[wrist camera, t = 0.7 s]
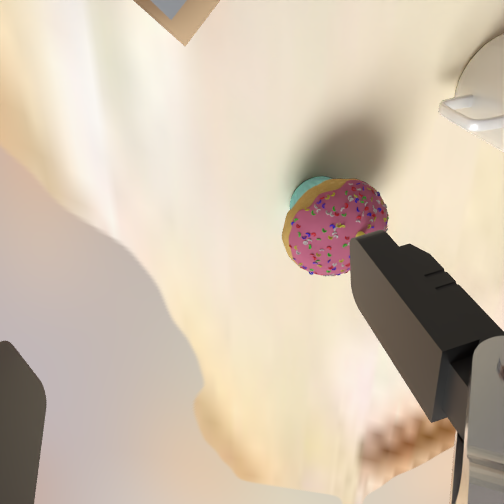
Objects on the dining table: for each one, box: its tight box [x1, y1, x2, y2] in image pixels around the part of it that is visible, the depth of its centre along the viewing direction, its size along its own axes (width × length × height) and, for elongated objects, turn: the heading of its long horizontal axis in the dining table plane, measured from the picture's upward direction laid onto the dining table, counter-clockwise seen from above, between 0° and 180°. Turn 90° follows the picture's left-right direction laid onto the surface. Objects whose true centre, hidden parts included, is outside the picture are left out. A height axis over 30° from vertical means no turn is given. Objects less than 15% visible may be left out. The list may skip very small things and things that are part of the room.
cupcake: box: [282, 176, 389, 276], centre depth 35 cm, size 9×8×12 cm
